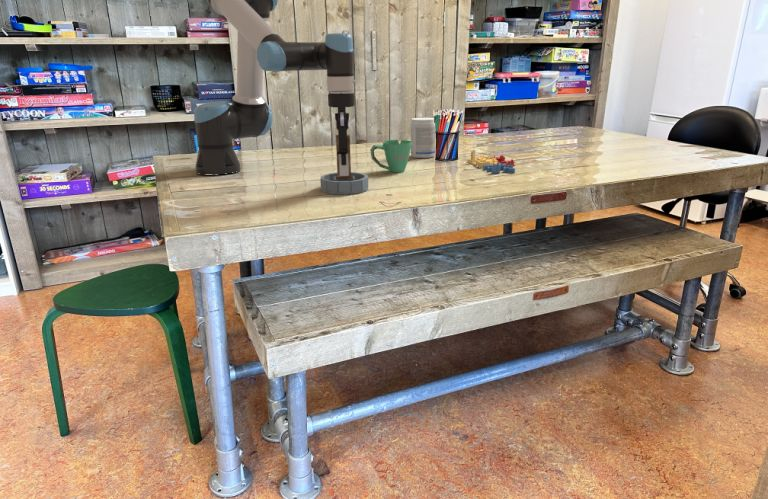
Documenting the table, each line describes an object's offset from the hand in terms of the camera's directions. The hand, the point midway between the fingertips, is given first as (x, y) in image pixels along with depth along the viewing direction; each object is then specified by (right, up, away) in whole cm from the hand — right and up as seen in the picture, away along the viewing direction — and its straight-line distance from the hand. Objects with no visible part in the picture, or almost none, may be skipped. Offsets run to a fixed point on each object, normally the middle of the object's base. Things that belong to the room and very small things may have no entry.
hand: (344, 174), depth 160 cm
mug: (+14, +4, +26) cm, 30 cm away
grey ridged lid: (0, -4, +2) cm, 4 cm away
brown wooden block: (0, -2, +1) cm, 2 cm away
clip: (0, -4, +2) cm, 4 cm away
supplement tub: (+27, +14, +53) cm, 61 cm away
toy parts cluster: (+50, +10, +41) cm, 65 cm away
